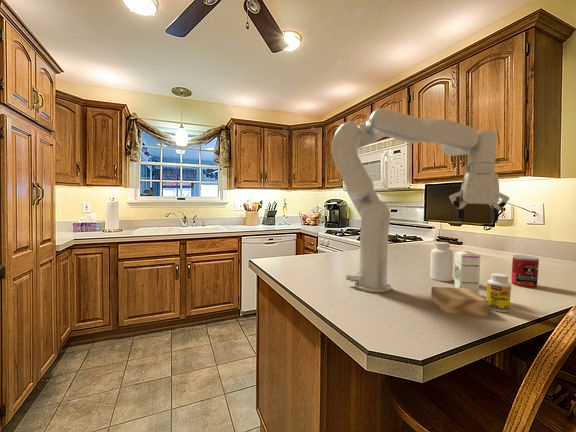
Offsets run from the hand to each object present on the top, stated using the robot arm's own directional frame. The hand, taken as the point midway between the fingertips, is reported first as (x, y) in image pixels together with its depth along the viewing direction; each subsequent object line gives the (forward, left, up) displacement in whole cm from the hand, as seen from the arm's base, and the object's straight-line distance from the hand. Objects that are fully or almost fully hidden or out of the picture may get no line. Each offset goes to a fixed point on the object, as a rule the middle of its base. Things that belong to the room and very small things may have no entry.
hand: (476, 221), depth 93 cm
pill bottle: (-3, +19, -25) cm, 32 cm away
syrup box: (-3, -1, -25) cm, 25 cm away
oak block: (-11, -13, -25) cm, 30 cm away
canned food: (+26, +16, -25) cm, 40 cm away
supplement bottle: (0, -13, -25) cm, 28 cm away
